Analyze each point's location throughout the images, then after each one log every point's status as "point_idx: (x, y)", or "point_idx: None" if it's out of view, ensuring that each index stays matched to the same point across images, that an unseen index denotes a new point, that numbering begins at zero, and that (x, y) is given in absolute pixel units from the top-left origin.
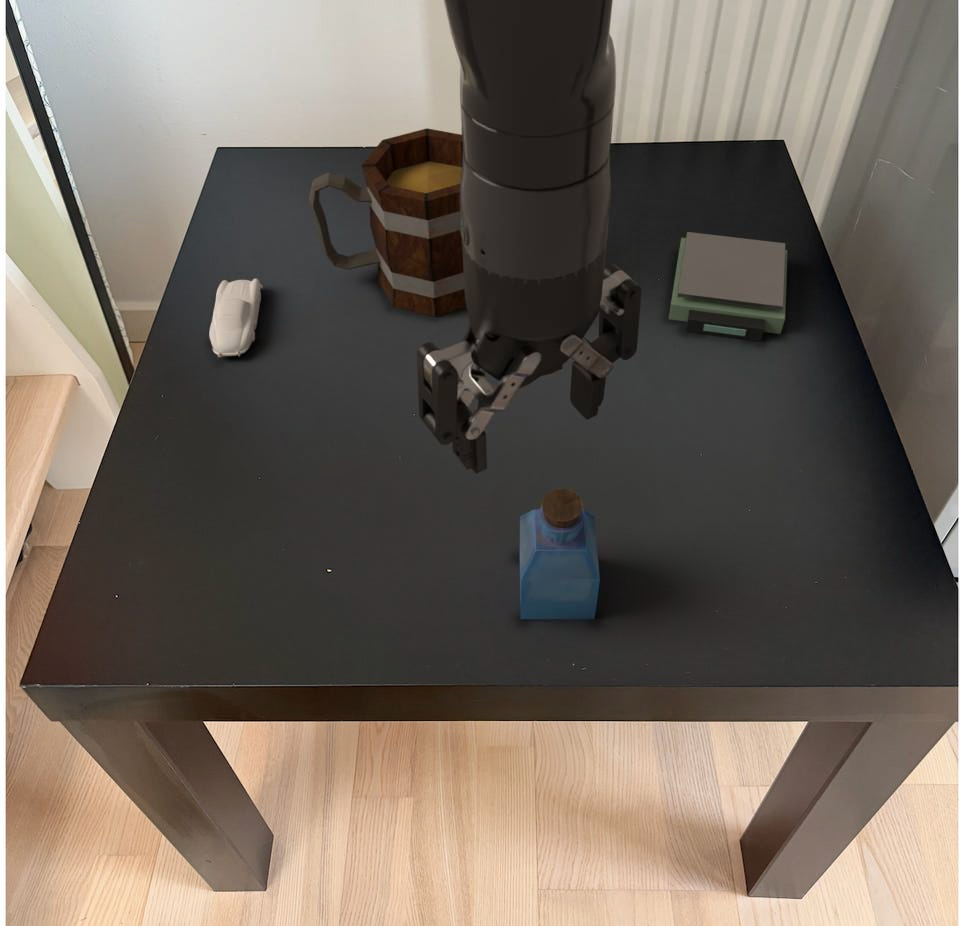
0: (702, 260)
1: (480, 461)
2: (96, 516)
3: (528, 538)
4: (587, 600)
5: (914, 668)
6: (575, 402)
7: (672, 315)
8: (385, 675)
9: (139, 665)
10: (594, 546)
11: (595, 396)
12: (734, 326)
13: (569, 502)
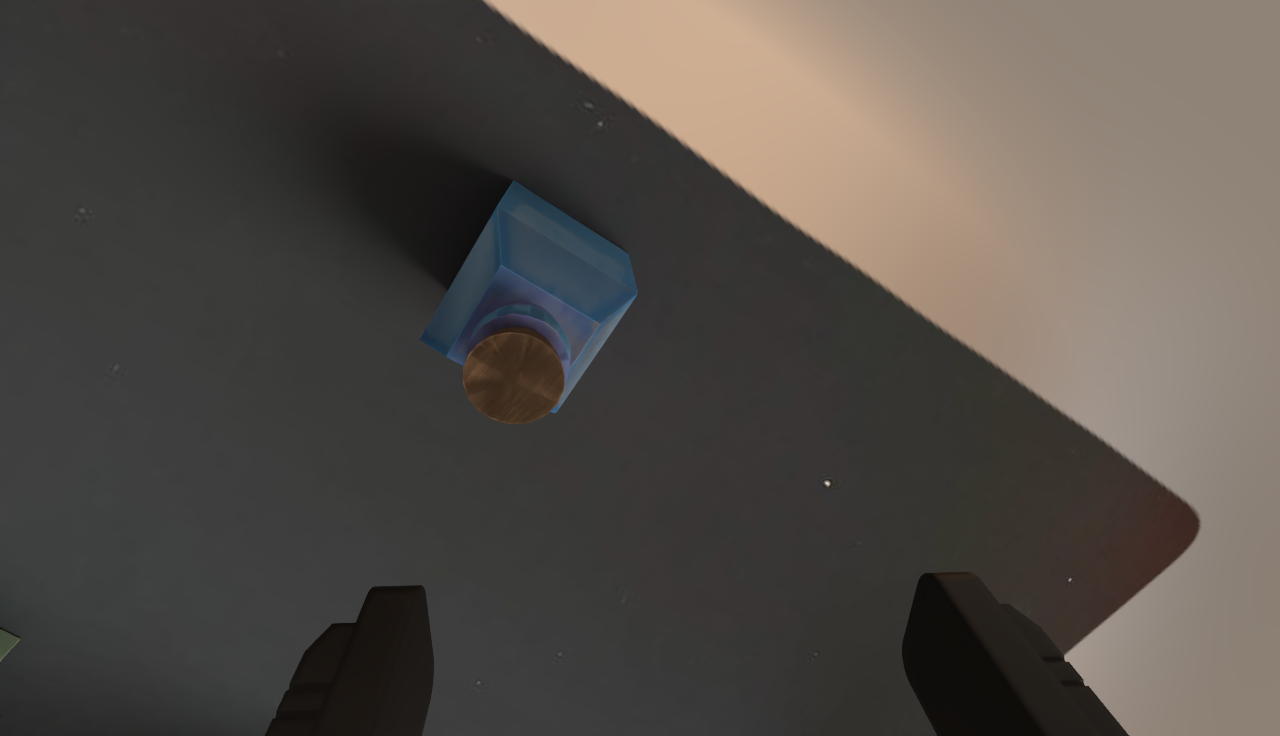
0: None
1: (996, 621)
2: None
3: (583, 360)
4: (522, 201)
5: None
6: (425, 674)
7: (6, 644)
8: (869, 286)
9: (1113, 478)
10: (465, 276)
11: (351, 700)
12: None
13: (494, 374)
